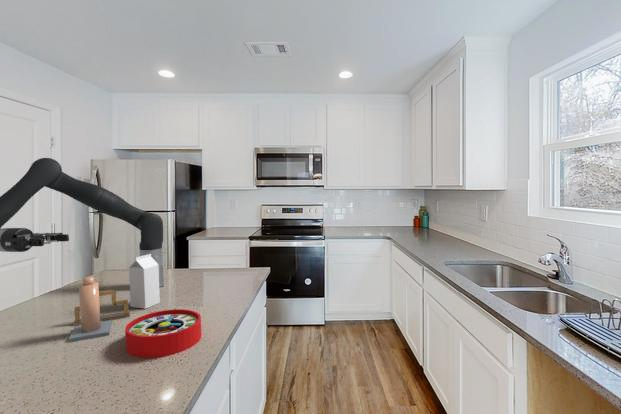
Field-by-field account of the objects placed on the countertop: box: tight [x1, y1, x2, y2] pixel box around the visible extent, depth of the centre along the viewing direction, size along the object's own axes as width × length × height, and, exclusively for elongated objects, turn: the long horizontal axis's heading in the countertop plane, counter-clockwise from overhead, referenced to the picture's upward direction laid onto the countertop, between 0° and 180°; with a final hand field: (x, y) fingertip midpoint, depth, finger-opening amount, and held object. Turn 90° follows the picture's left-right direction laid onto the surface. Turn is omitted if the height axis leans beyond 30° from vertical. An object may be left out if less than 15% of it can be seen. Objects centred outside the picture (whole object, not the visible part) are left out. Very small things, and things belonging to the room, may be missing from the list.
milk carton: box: [128, 254, 161, 310], centre depth 126 cm, size 7×7×19 cm
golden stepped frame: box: [72, 289, 131, 327], centre depth 113 cm, size 16×3×10 cm, turn 117°
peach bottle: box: [78, 276, 101, 333], centre depth 103 cm, size 5×5×16 cm
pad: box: [68, 320, 113, 343], centre depth 103 cm, size 10×10×1 cm
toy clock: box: [124, 308, 202, 359], centre depth 97 cm, size 20×6×20 cm
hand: (55, 240), depth 103 cm, fingers open, 8 cm apart
